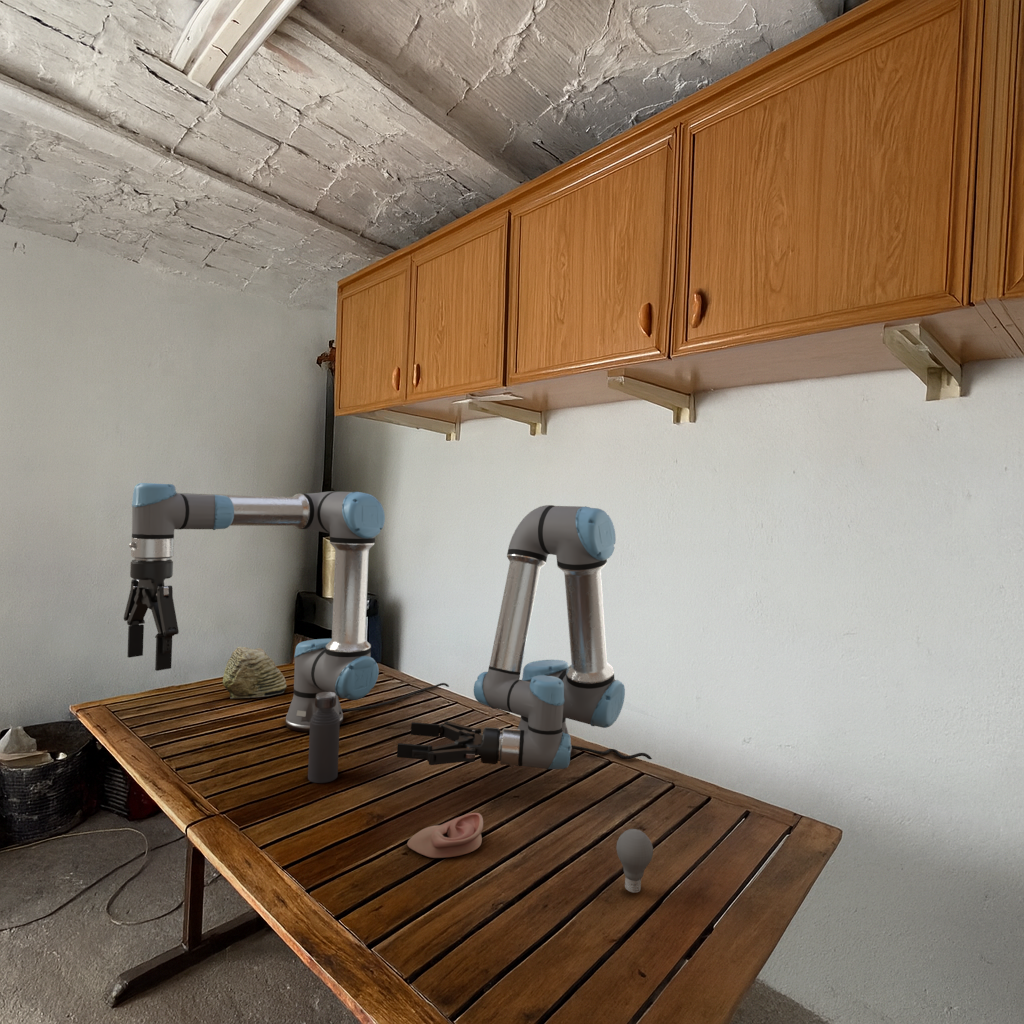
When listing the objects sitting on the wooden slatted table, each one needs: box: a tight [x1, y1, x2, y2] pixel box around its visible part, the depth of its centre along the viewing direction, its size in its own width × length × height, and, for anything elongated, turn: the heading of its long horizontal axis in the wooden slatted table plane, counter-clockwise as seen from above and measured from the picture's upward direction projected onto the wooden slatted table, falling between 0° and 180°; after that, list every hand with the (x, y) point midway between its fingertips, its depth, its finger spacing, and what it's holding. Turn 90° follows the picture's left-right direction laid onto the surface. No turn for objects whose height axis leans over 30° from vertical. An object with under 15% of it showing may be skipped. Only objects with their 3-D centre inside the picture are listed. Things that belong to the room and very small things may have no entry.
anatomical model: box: [406, 812, 484, 859], centre depth 118 cm, size 13×4×12 cm
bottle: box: [307, 707, 341, 784], centre depth 143 cm, size 6×6×18 cm
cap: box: [315, 692, 336, 709], centre depth 143 cm, size 4×4×2 cm
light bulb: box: [615, 828, 654, 894], centre depth 106 cm, size 6×6×10 cm
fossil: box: [222, 646, 288, 699], centre depth 198 cm, size 9×18×15 cm, turn 132°
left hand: (148, 662), depth 129 cm, fingers open, 13 cm apart
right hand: (404, 738), depth 141 cm, fingers open, 13 cm apart
